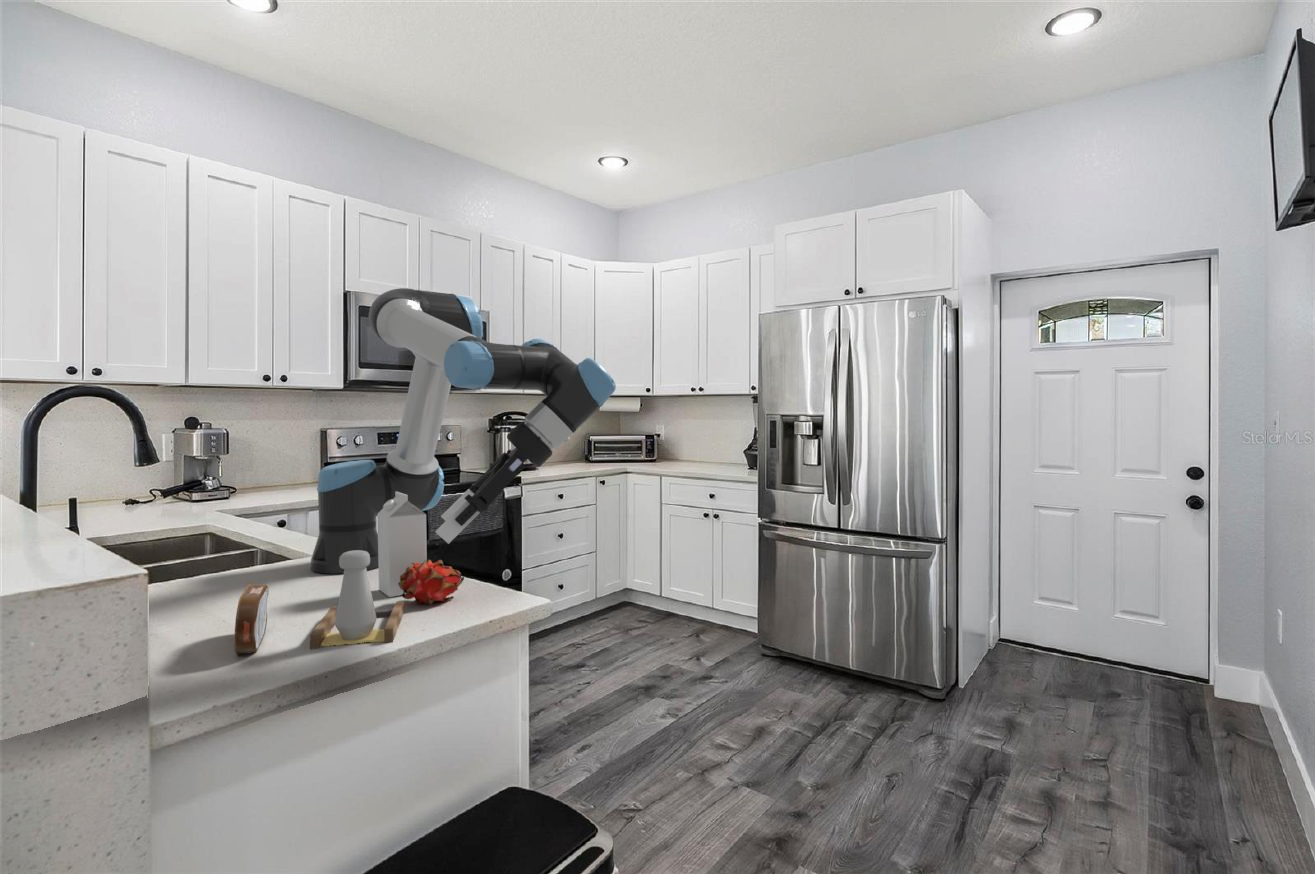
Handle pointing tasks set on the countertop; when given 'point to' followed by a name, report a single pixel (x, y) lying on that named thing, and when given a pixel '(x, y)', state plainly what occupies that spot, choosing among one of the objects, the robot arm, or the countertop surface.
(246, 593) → the tin
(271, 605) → the countertop surface
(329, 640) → the yellow panel
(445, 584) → the dragon fruit
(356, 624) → the salt shaker
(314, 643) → the channel
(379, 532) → the milk carton
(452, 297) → the robot arm
